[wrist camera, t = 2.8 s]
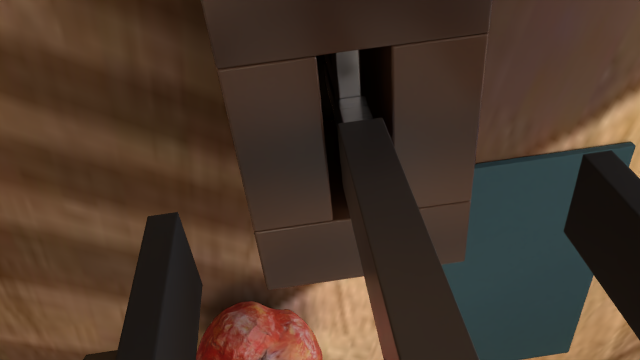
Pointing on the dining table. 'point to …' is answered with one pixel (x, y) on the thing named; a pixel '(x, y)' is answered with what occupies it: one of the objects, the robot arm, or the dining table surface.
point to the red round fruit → (258, 335)
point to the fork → (391, 232)
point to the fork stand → (322, 136)
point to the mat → (523, 256)
